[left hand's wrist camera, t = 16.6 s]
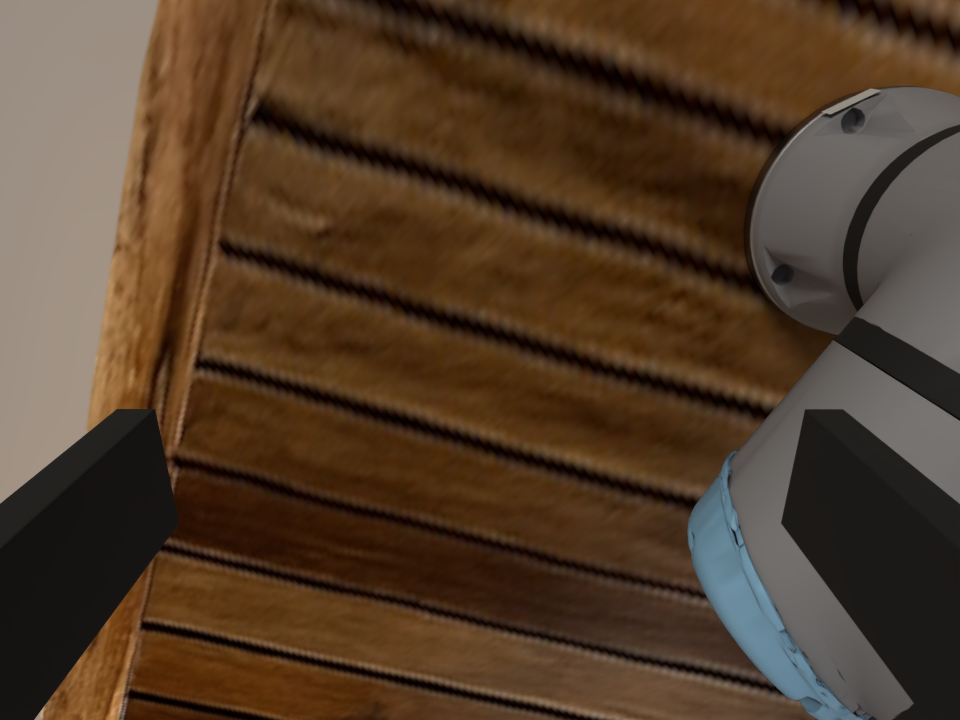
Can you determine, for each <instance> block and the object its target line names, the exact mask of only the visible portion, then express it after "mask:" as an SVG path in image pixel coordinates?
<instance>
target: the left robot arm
mask: <svg viewBox="0 0 960 720" xmlns="http://www.w3.org/2000/svg"><path fill="white" fill-rule="evenodd" d="M744 244H745V252H746V257H747V261H748V265H749V267H750V270H751V273H752V275H753V277H754V279H755V281H756V283H757V285H758V286H759V288H760V289H761V291H762V292H763V294H764V295H765V296H766V297H767V298H768V299H769V300H770V301H771V302H772V303H773V304H774V305H775V306H776V307H777V308H779V309H780V310H781V311H783V312H784V313H785V314H787V315H789V316H790V317H792V318H793V319H795V320H797V321H798V322H800V323H802V324H804V325H807V326H809V327H811V328H814V329H817V330H821V331H824V332H827V333H831V334H836V335H838V336H837V337H836V338H835V339H834V340H835V341H836V342H835V341H834V340H833V341H832V342H831V343H830V344H829V346H828V347H827V348H826V349H825V350H824V351H823V353H822V354H821V355H820V356H819V357H818V358H817V360H816V361H815V362H814V363H813V364H812V365H811V367H810V368H809V369H808V370H807V371H806V372H805V374H804V375H803V376H802V377H801V378H800V379H799V381H798V382H797V383H796V384H795V385H794V386H793V388H792V389H791V390H790V391H789V392H788V393H787V395H786V396H785V397H784V398H783V399H782V400H781V402H780V403H779V404H778V405H777V406H776V407H775V409H774V410H773V411H772V412H771V413H770V414H769V416H768V417H767V418H766V419H765V420H764V421H763V423H762V424H761V425H760V426H759V427H758V428H757V430H756V431H755V432H754V433H753V434H752V435H751V437H750V438H749V439H748V440H747V441H746V442H745V444H744V445H743V446H742V447H741V448H740V449H739V451H733V452H732V453H731V454H730V455H729V456H728V457H727V458H726V460H725V461H724V463H723V466H722V470H721V472H720V473H719V475H718V476H717V477H716V479H715V480H714V481H713V483H712V484H711V485H710V487H709V488H708V489H707V491H706V492H705V493H704V495H703V496H702V497H701V499H700V500H699V501H698V503H697V504H696V505H695V507H694V509H693V511H692V513H691V515H690V519H689V523H688V530H687V532H688V545H689V549H690V551H691V559H692V563H693V567H694V570H695V572H696V575H697V577H698V579H699V582H700V584H701V586H702V588H703V590H704V592H705V594H706V596H707V598H708V600H709V602H710V603H711V605H712V607H713V609H714V610H715V612H716V614H717V615H718V617H719V618H720V620H721V621H722V623H723V624H724V626H725V627H726V629H727V630H728V631H729V633H730V634H731V636H732V637H733V638H734V640H735V641H736V642H737V644H738V645H739V646H740V648H741V649H742V650H743V651H744V653H745V654H746V655H747V656H748V657H749V659H750V660H751V661H752V662H753V663H754V665H755V666H756V667H757V668H758V669H759V670H760V671H761V672H762V673H763V674H764V676H765V677H766V678H767V679H768V680H769V681H770V682H771V683H772V684H774V685H775V686H776V687H777V688H778V689H779V690H780V691H781V692H782V693H783V694H784V695H786V696H787V697H788V698H789V699H791V700H799V701H800V702H801V704H802V705H803V707H804V708H805V710H806V711H807V712H808V714H810V715H811V716H813V717H815V718H816V719H818V720H960V98H959V97H957V96H955V95H952V94H949V93H946V92H942V91H939V90H934V89H929V88H923V87H915V86H895V87H882V88H873V89H868V90H863V91H859V92H856V93H852V94H849V95H847V96H844V97H842V98H839V99H837V100H835V101H833V102H831V103H829V104H827V105H825V106H823V107H822V108H820V109H818V110H817V111H815V112H813V113H812V114H811V115H809V116H808V117H807V118H805V119H804V120H803V121H801V122H800V123H799V124H798V125H797V126H796V127H795V128H793V129H792V130H791V131H790V132H789V133H788V134H787V135H786V137H785V138H784V139H783V140H782V141H781V142H780V143H779V145H778V146H777V147H776V148H775V149H774V151H773V152H772V154H771V155H770V157H769V158H768V159H767V161H766V163H765V164H764V166H763V168H762V170H761V171H760V173H759V175H758V177H757V180H756V182H755V184H754V186H753V189H752V192H751V195H750V198H749V202H748V205H747V210H746V216H745V225H744ZM843 346H844V347H843ZM846 348H847V349H846ZM848 349H849V350H848ZM850 350H851V351H852V352H851V351H850ZM853 352H854V353H855V354H854V353H853ZM856 354H857V355H856ZM858 355H859V356H860V357H859V356H858ZM861 357H862V358H863V359H862V358H861ZM864 359H865V360H866V361H865V360H864ZM867 361H868V362H867ZM870 363H871V364H870ZM873 365H874V366H873ZM875 366H876V367H877V368H876V367H875ZM878 368H879V369H880V370H879V369H878ZM881 370H882V371H881ZM884 372H885V373H884ZM887 374H888V375H887ZM890 376H891V377H890ZM892 377H893V378H892ZM895 379H896V380H895ZM898 381H899V382H898ZM900 382H901V383H902V384H901V383H900ZM903 384H904V385H903ZM906 386H907V387H906ZM909 388H910V389H909ZM912 390H913V391H912ZM915 392H916V393H915ZM926 399H927V400H926ZM931 402H932V403H931ZM934 404H935V405H934ZM937 406H938V407H937ZM939 407H940V408H941V409H940V408H939ZM942 409H943V410H942ZM945 411H946V412H945ZM948 413H949V414H948ZM951 415H952V416H951ZM954 417H955V418H954ZM178 524H179V521H178V516H177V511H176V506H175V502H174V497H173V492H172V487H171V483H170V478H169V473H168V469H167V464H166V459H165V454H164V450H163V445H162V440H161V435H160V431H159V426H158V421H157V416H156V412H155V409H117V410H115V411H114V412H113V413H112V414H110V415H109V416H108V417H107V418H106V419H104V420H103V421H102V422H101V423H99V424H98V425H97V426H96V427H94V428H93V429H92V430H91V431H89V432H88V433H87V434H86V435H85V436H83V437H82V438H81V439H80V440H78V441H77V442H76V443H75V444H73V445H72V446H71V447H70V448H69V449H67V450H66V451H65V452H64V453H62V454H61V455H60V456H59V457H57V458H56V459H55V460H54V461H52V462H51V463H50V464H49V465H48V466H46V467H45V468H44V469H43V470H41V471H40V472H39V473H38V474H36V475H35V476H34V477H33V478H32V479H30V480H29V481H28V482H27V483H25V484H24V485H23V486H22V487H20V488H19V489H18V490H17V491H15V492H14V493H13V494H12V495H10V496H9V497H8V498H7V499H6V500H4V501H3V502H2V503H1V504H0V720H34V719H35V718H36V716H37V715H38V714H39V712H40V711H41V710H42V708H43V707H44V706H45V704H46V703H47V702H48V700H49V699H50V697H51V696H52V695H53V693H54V692H55V691H56V689H57V688H58V687H59V685H60V684H61V683H62V681H63V680H64V679H65V677H66V676H67V674H68V673H69V672H70V670H71V669H72V668H73V666H74V665H75V664H76V662H77V661H78V660H79V658H80V657H81V655H82V654H83V653H84V651H85V650H86V649H87V647H88V646H89V645H90V643H91V642H92V641H93V639H94V638H95V636H96V635H97V634H98V632H99V631H100V630H101V628H102V627H103V626H104V624H105V623H106V622H107V620H108V619H109V618H110V616H111V615H112V613H113V612H114V611H115V609H116V608H117V607H118V605H119V604H120V603H121V601H122V600H123V599H124V597H125V596H126V594H127V593H128V592H129V590H130V589H131V588H132V586H133V585H134V584H135V582H136V581H137V580H138V578H139V577H140V575H141V574H142V573H143V571H144V570H145V569H146V567H147V566H148V565H149V563H150V562H151V561H152V559H153V558H154V557H155V555H156V554H157V552H158V551H159V550H160V548H161V547H162V546H163V544H164V543H165V542H166V540H167V539H168V538H169V536H170V535H171V533H172V532H173V531H174V529H175V528H176V527H177V525H178Z"/></svg>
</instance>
